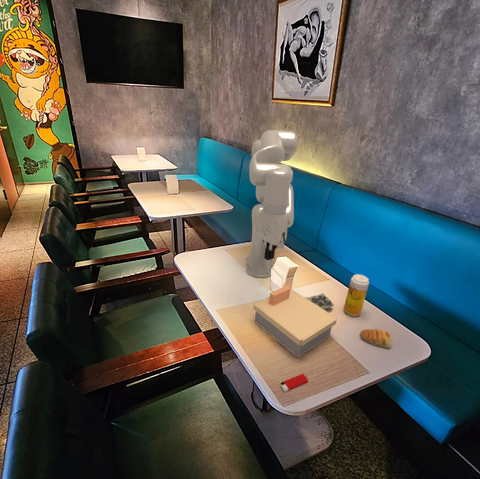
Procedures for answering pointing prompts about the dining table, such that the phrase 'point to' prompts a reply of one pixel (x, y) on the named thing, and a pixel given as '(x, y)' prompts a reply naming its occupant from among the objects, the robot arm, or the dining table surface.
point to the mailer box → (285, 340)
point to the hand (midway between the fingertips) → (269, 258)
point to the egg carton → (321, 301)
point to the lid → (295, 315)
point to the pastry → (377, 337)
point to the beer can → (356, 295)
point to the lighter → (294, 382)
